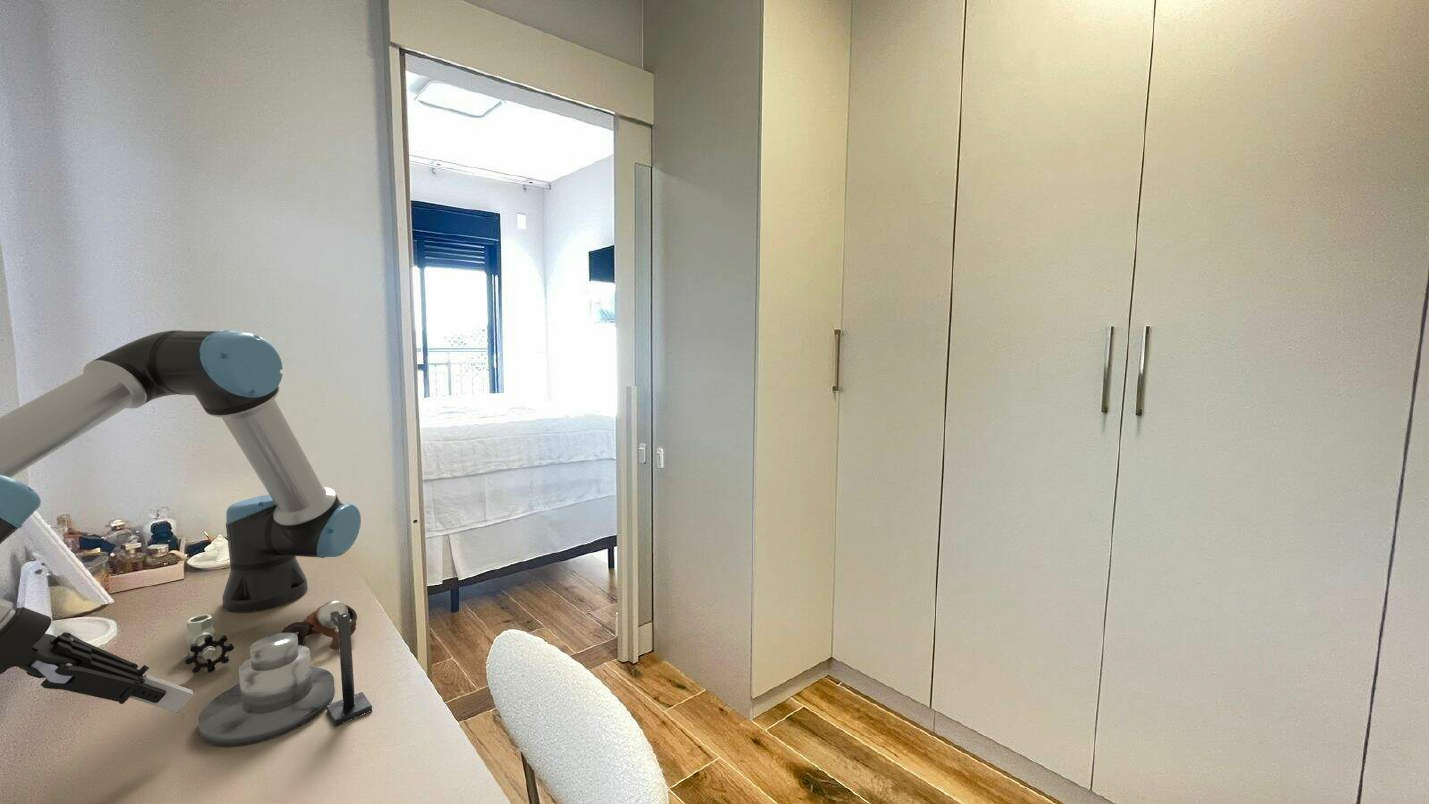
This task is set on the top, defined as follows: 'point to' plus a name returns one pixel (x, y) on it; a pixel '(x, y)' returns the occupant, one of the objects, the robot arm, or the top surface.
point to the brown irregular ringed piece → (318, 628)
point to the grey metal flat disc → (261, 715)
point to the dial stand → (343, 665)
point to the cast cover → (275, 674)
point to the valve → (204, 643)
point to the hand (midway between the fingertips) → (184, 701)
